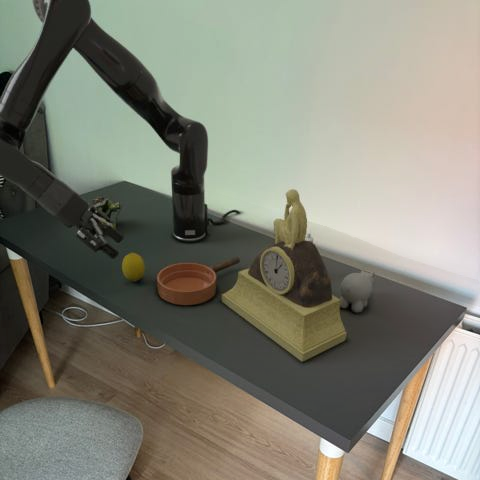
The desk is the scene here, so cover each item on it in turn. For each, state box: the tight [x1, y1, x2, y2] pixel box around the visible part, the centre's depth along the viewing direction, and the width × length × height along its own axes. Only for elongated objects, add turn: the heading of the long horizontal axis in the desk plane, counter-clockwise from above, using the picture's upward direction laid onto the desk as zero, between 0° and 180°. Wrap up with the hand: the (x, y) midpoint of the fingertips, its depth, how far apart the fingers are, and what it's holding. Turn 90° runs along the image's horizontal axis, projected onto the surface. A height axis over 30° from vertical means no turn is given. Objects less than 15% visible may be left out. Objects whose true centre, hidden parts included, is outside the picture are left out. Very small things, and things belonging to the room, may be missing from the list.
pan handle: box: [206, 256, 241, 274], centre depth 131 cm, size 11×2×2 cm, turn 133°
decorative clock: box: [221, 188, 348, 363], centre depth 108 cm, size 28×13×30 cm, turn 37°
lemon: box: [121, 252, 146, 283], centre depth 127 cm, size 6×6×8 cm
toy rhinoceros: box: [339, 267, 376, 314], centre depth 122 cm, size 7×12×8 cm, turn 141°
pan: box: [156, 262, 217, 306], centre depth 125 cm, size 14×14×4 cm
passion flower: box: [88, 196, 123, 230], centre depth 152 cm, size 11×11×12 cm
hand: (119, 247), depth 123 cm, fingers open, 8 cm apart
